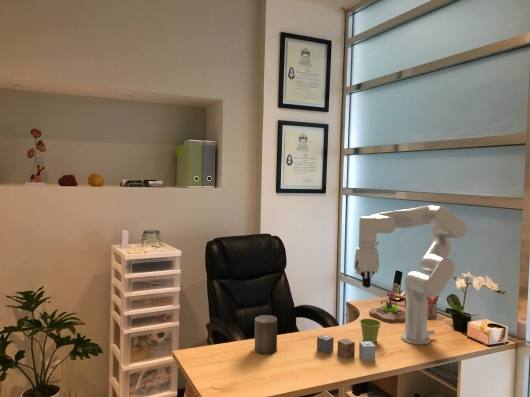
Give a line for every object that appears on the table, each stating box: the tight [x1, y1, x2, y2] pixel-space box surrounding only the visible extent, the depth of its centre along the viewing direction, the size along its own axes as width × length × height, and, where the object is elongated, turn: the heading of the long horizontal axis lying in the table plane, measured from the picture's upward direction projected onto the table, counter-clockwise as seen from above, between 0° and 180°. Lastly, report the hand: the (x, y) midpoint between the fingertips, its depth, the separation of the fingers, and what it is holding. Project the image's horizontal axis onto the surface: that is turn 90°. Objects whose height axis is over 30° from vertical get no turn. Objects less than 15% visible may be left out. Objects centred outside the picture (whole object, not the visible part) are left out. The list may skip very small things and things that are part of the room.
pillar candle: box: [254, 314, 278, 355], centre depth 178 cm, size 10×10×15 cm
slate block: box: [358, 340, 376, 362], centre depth 172 cm, size 5×5×6 cm
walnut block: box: [336, 337, 356, 360], centre depth 174 cm, size 5×5×6 cm
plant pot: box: [359, 318, 382, 344], centre depth 190 cm, size 9×9×9 cm
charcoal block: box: [316, 333, 334, 355], centre depth 178 cm, size 5×5×6 cm
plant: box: [368, 295, 406, 324], centre depth 224 cm, size 20×20×11 cm
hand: (366, 286), depth 181 cm, fingers closed
